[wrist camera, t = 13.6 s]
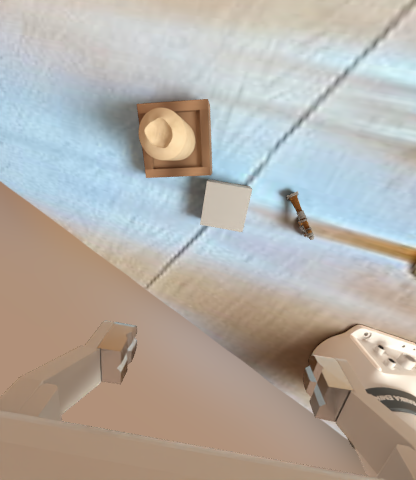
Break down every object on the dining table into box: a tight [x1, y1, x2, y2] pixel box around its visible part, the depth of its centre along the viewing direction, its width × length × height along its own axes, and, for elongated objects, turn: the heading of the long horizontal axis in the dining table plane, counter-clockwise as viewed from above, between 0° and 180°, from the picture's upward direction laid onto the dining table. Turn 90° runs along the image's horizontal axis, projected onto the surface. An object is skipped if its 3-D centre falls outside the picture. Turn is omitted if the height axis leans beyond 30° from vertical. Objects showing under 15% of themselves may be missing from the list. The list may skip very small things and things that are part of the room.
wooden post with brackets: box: [286, 191, 314, 240], centre depth 38 cm, size 2×8×4 cm, turn 25°
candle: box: [139, 108, 195, 161], centre depth 29 cm, size 6×6×10 cm
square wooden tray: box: [137, 99, 212, 178], centre depth 35 cm, size 10×10×4 cm
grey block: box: [200, 179, 252, 232], centre depth 38 cm, size 7×7×4 cm
